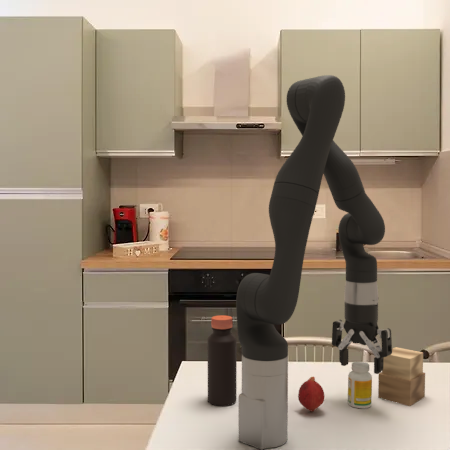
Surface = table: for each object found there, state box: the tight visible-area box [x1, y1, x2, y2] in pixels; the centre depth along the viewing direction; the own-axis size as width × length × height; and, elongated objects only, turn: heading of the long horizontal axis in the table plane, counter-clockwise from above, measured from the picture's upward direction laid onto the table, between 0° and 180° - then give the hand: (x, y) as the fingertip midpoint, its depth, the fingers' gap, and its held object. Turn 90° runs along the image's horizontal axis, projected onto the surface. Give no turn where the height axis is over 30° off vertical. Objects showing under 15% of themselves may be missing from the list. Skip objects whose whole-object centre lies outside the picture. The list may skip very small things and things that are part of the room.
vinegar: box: [207, 315, 237, 407], centre depth 137 cm, size 7×7×20 cm
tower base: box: [377, 371, 426, 407], centre depth 140 cm, size 8×8×6 cm
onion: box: [297, 376, 325, 413], centre depth 131 cm, size 6×6×8 cm
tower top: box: [381, 346, 424, 380], centre depth 140 cm, size 7×7×5 cm
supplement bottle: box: [347, 361, 373, 409], centre depth 135 cm, size 5×5×10 cm
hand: (360, 368), depth 135 cm, fingers open, 8 cm apart
